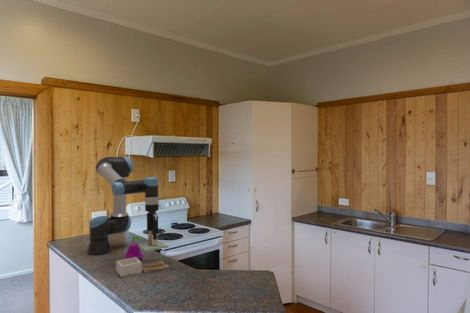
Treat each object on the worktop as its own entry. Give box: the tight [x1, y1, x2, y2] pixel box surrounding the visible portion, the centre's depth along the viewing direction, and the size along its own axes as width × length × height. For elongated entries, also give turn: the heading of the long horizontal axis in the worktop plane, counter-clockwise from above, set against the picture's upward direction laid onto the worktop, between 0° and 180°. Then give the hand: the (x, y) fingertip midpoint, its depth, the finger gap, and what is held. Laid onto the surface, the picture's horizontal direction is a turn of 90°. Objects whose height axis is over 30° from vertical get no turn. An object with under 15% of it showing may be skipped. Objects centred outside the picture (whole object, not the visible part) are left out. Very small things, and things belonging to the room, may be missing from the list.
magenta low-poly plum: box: [123, 236, 144, 261], centre depth 198 cm, size 11×11×15 cm
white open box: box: [115, 257, 143, 278], centre depth 177 cm, size 11×11×6 cm
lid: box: [137, 230, 169, 253], centre depth 185 cm, size 13×13×9 cm
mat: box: [141, 259, 170, 274], centre depth 185 cm, size 14×14×1 cm
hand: (152, 243), depth 185 cm, fingers closed on lid, 5 cm apart
